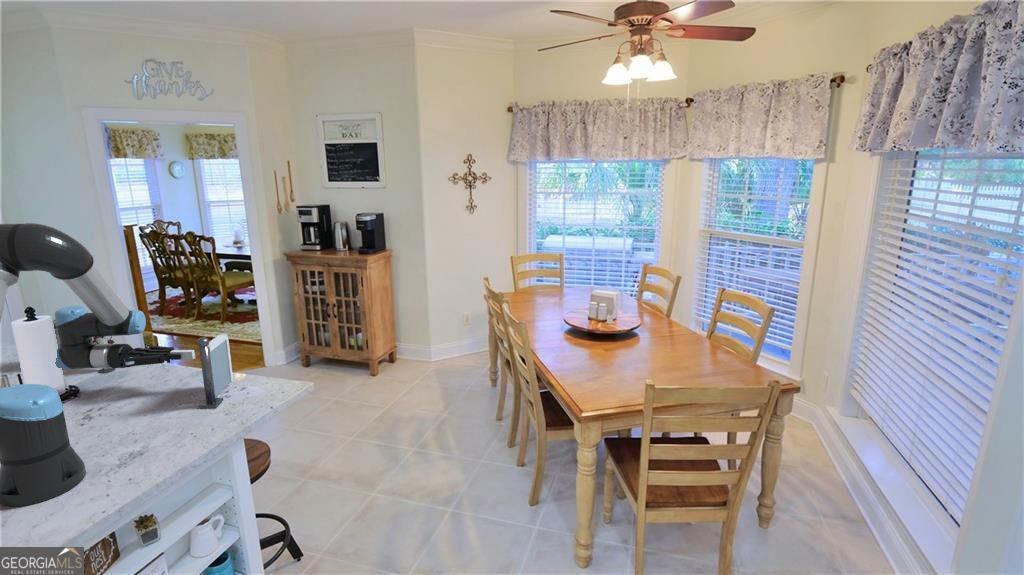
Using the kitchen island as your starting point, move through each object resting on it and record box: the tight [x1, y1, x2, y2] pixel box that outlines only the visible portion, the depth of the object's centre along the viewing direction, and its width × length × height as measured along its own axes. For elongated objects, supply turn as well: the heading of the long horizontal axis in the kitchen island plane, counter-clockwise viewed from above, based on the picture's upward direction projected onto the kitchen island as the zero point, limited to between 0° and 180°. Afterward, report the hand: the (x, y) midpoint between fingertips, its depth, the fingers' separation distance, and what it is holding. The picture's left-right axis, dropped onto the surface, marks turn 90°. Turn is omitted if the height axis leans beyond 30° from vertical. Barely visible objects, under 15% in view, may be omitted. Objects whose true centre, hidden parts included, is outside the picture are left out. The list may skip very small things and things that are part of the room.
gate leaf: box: [208, 332, 234, 398], centre depth 161 cm, size 12×2×17 cm, turn 6°
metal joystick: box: [196, 336, 224, 410], centre depth 153 cm, size 5×5×22 cm
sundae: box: [92, 336, 117, 374], centre depth 176 cm, size 7×7×15 cm
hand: (193, 354), depth 162 cm, fingers closed
